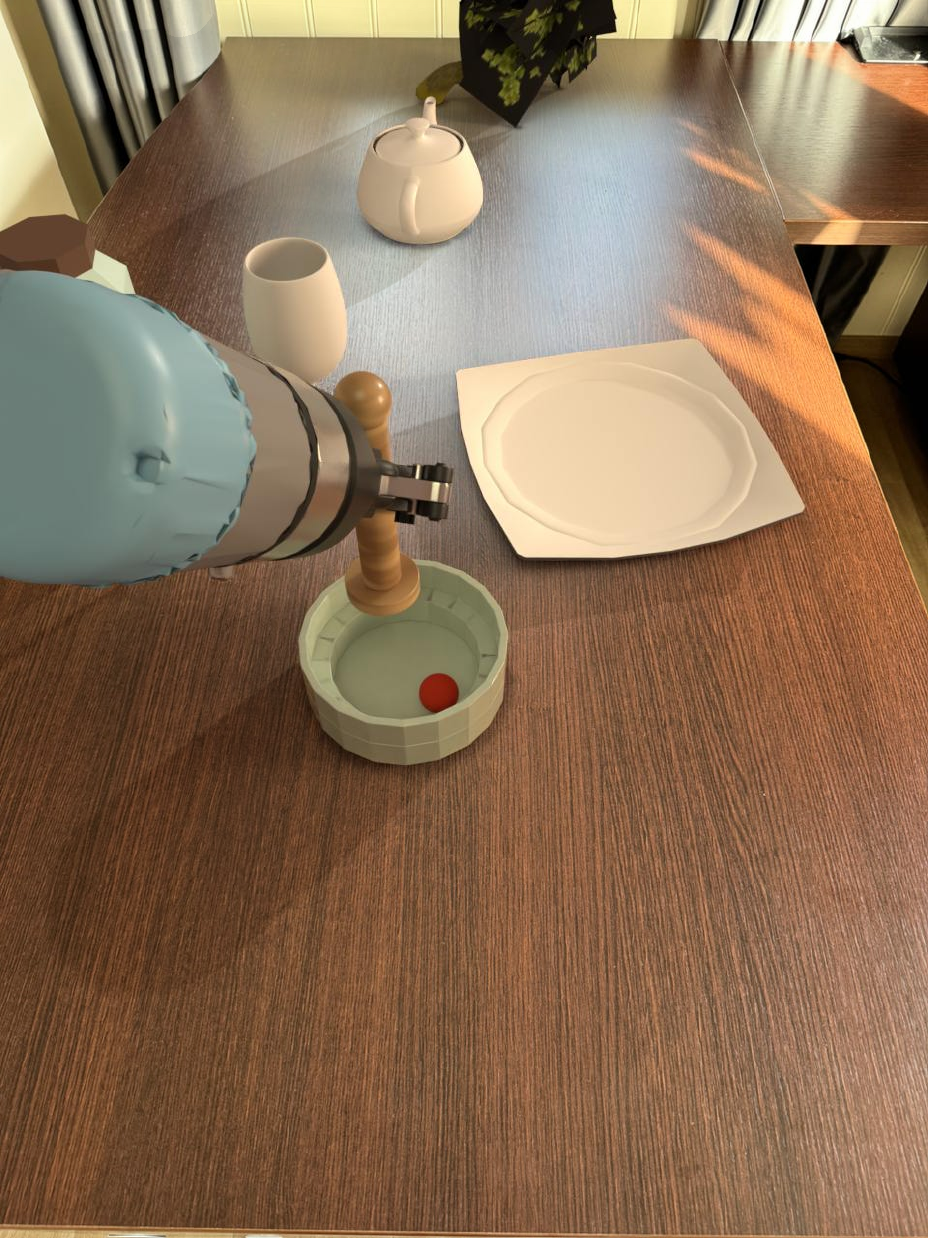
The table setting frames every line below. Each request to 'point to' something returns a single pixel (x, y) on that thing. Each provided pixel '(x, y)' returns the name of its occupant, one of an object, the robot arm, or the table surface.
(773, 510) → the plate
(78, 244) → the water bottle
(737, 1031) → the table surface
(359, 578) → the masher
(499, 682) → the bowl
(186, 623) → the table surface
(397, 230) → the teapot
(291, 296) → the wineglass
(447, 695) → the tomato
